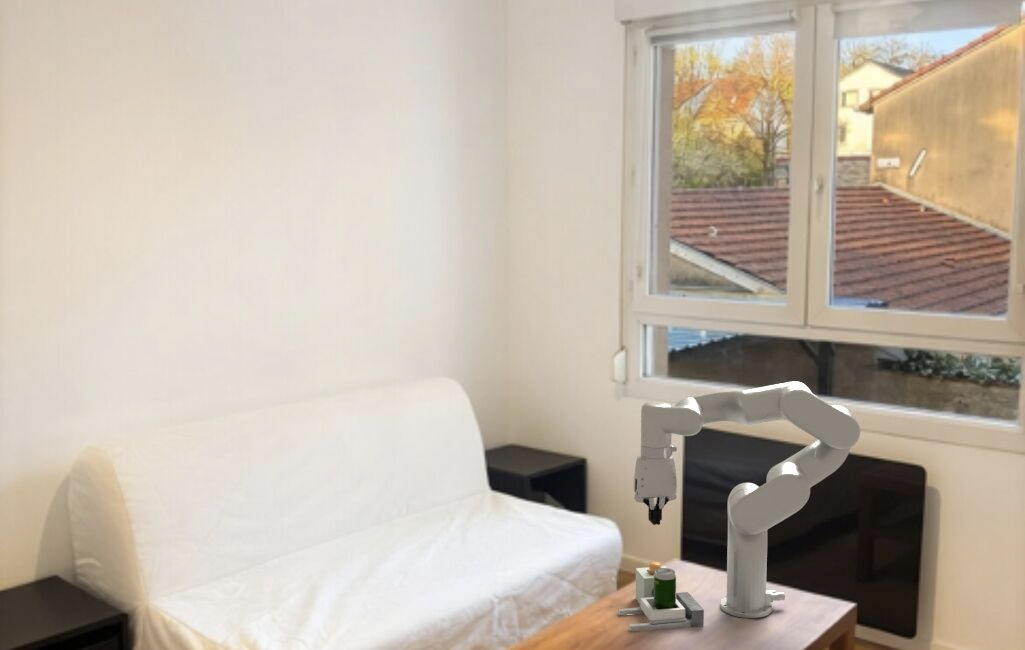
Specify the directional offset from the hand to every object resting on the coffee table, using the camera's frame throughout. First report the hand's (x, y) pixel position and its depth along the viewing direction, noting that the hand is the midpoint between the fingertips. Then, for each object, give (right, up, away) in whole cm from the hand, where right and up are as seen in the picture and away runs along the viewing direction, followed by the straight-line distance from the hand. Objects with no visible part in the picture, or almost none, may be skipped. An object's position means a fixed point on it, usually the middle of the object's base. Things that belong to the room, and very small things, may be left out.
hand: (655, 523), depth 244 cm
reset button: (0, -13, +2) cm, 13 cm away
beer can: (+1, -22, -7) cm, 23 cm away
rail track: (0, -22, -8) cm, 23 cm away
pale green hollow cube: (0, -21, +3) cm, 21 cm away
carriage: (+1, -20, -8) cm, 22 cm away
